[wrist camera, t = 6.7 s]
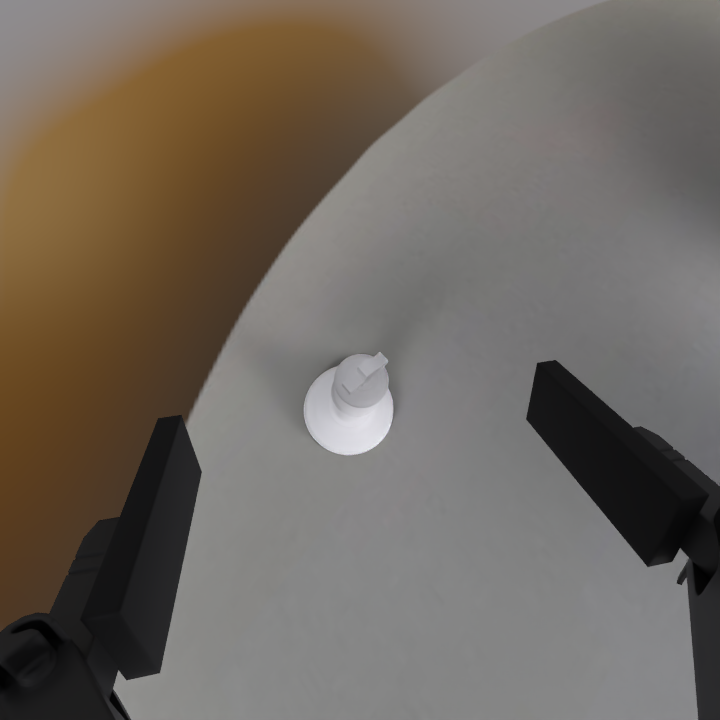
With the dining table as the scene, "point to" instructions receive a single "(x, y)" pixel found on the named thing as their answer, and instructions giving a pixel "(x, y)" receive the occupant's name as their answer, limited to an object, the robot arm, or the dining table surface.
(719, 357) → the dining table surface
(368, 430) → the chess piece
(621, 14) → the dining table surface
